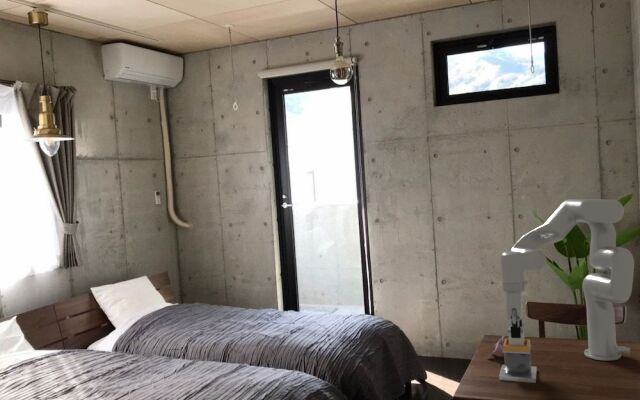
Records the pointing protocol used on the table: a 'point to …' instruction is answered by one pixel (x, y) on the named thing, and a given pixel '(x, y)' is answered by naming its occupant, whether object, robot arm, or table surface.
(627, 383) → the table surface
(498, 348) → the lily
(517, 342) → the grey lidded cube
